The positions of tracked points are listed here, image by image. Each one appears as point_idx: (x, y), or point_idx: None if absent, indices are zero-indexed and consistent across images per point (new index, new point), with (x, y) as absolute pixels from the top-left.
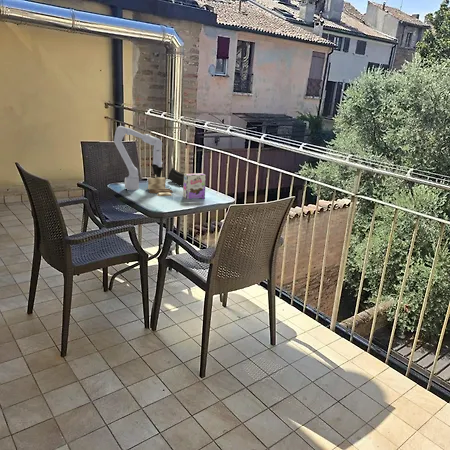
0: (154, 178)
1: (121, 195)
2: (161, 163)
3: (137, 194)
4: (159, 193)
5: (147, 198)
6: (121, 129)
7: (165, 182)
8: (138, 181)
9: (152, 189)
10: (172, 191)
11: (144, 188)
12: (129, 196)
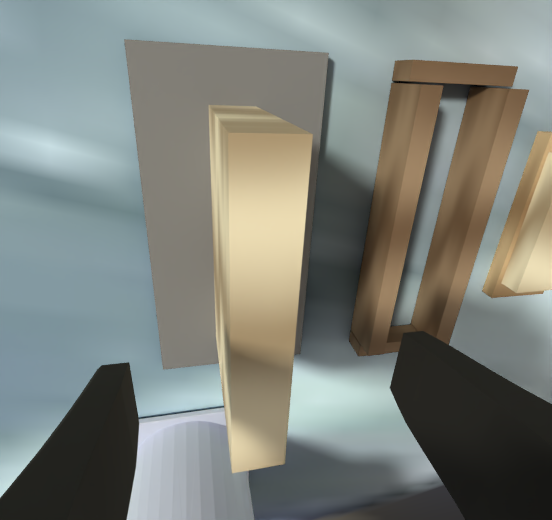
0: (289, 383)
1: (369, 506)
2: None
3: (378, 424)
4: (547, 283)
5: (524, 367)
6: None
7: (283, 120)
8: (224, 514)
9: (388, 331)
10: (511, 74)
11: (164, 367)
12: (415, 467)
